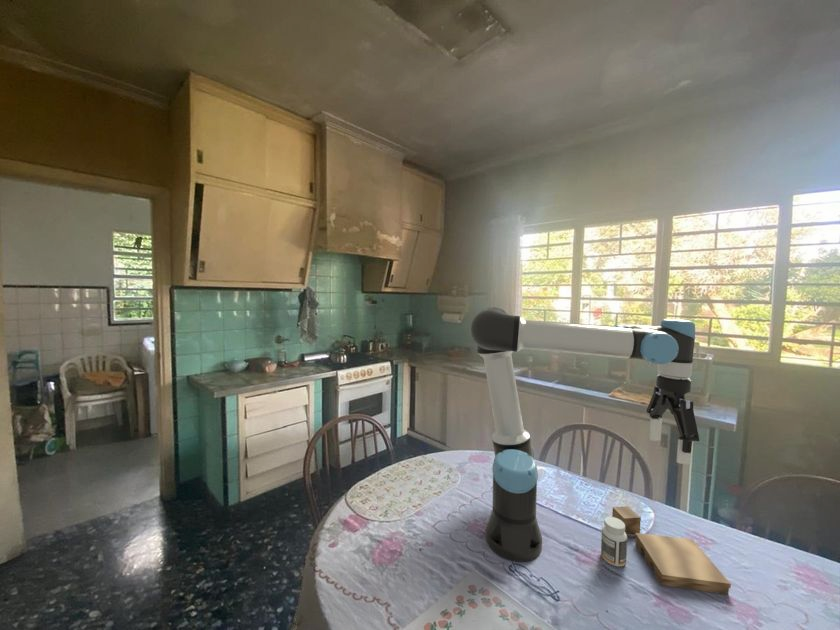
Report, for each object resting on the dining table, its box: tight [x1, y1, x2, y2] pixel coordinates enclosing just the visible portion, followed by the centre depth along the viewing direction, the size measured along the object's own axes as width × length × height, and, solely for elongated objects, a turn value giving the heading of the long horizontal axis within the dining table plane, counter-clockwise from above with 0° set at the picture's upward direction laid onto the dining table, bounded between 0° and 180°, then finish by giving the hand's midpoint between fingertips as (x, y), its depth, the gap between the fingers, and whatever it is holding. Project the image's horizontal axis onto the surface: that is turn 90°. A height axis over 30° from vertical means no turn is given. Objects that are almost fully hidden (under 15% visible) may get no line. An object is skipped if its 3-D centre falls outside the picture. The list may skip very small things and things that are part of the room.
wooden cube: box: [611, 505, 642, 536], centre depth 99 cm, size 5×5×5 cm
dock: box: [634, 532, 732, 595], centre depth 85 cm, size 14×14×3 cm
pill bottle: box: [600, 516, 628, 567], centre depth 87 cm, size 6×6×10 cm
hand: (667, 451), depth 94 cm, fingers open, 13 cm apart
